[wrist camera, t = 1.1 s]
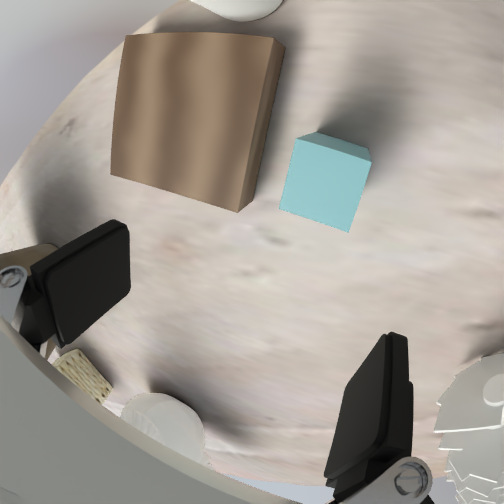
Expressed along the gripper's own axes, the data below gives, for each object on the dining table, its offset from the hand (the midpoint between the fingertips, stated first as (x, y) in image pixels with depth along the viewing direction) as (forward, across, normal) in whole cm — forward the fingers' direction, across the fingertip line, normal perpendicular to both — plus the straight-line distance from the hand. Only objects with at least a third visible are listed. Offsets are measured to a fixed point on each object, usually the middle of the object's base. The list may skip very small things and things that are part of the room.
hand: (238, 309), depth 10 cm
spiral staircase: (+22, -36, +19) cm, 46 cm away
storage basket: (+20, +43, +66) cm, 82 cm away
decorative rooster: (+20, +10, +56) cm, 60 cm away
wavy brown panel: (+20, +15, -3) cm, 25 cm away
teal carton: (+21, 0, -2) cm, 21 cm away
